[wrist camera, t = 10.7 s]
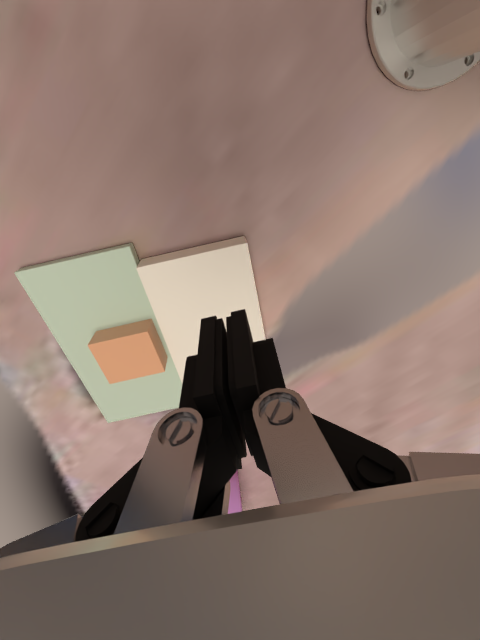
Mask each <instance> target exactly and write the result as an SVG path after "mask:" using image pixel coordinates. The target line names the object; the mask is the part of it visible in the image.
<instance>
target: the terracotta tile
mask: <svg viewBox="0 0 480 640" xmlns="http://www.w3.org/2000/svg"><path fill="white" fill-rule="evenodd" d="M88 347H89V349H90V351H91V352H92V354H93V356H94V358H95V359H96V361H97V363H98V365H99V366H100V368H101V370H102V372H103V373H104V375H105V377H106V379H107V380H108V382H109V384H113V383H117V382H121V381H126V380H130V379H135V378H139V377H144V376H148V375H153V374H157V373H162V372H165V369H166V363H167V358H168V357H167V354H166V352H165V349H164V347H163V344H162V342H161V340H160V337H159V335H158V332H157V330H156V328H155V325H154V323H153V320H152V319H148V320H143V321H139V322H134V323H130V324H126V325H121V326H117V327H112V328H108V329H104V330H99V331H96V332H95V334H94V335H93V337H92V339H91V340H90V342H89V343H88Z"/></svg>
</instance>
